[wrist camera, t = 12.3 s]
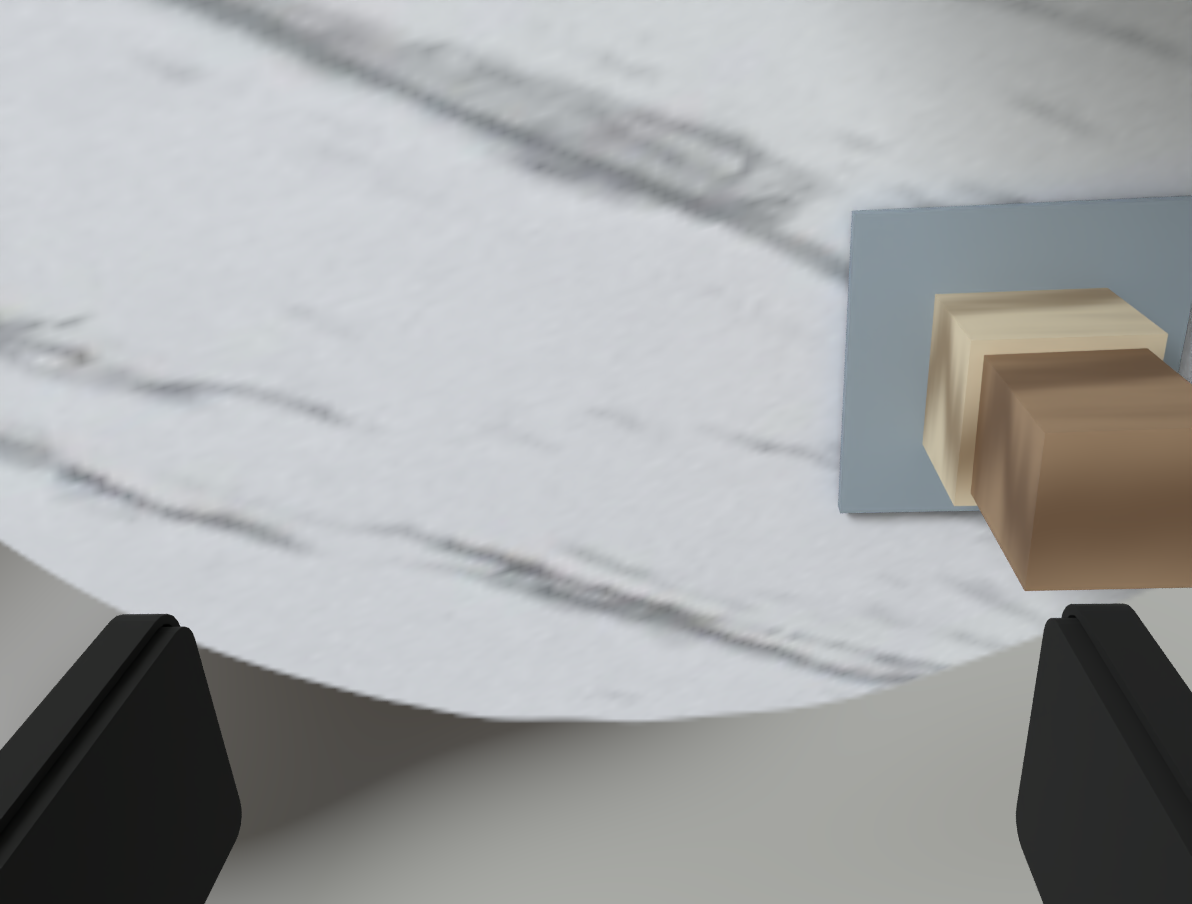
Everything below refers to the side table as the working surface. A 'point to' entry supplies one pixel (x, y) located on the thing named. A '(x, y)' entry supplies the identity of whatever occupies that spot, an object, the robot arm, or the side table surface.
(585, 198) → the side table surface
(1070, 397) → the walnut block
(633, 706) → the side table surface
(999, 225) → the build plate
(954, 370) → the beech block
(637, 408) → the side table surface
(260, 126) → the side table surface
